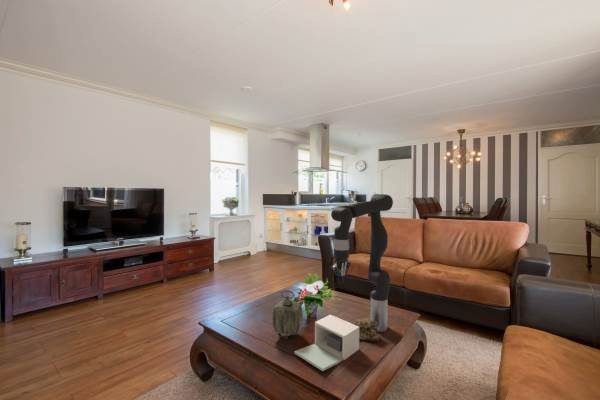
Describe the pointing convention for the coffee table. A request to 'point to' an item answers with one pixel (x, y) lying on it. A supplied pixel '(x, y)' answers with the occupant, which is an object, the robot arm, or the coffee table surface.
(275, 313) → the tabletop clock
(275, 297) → the coffee table surface
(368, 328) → the mineral specimen
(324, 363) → the door
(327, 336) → the case
